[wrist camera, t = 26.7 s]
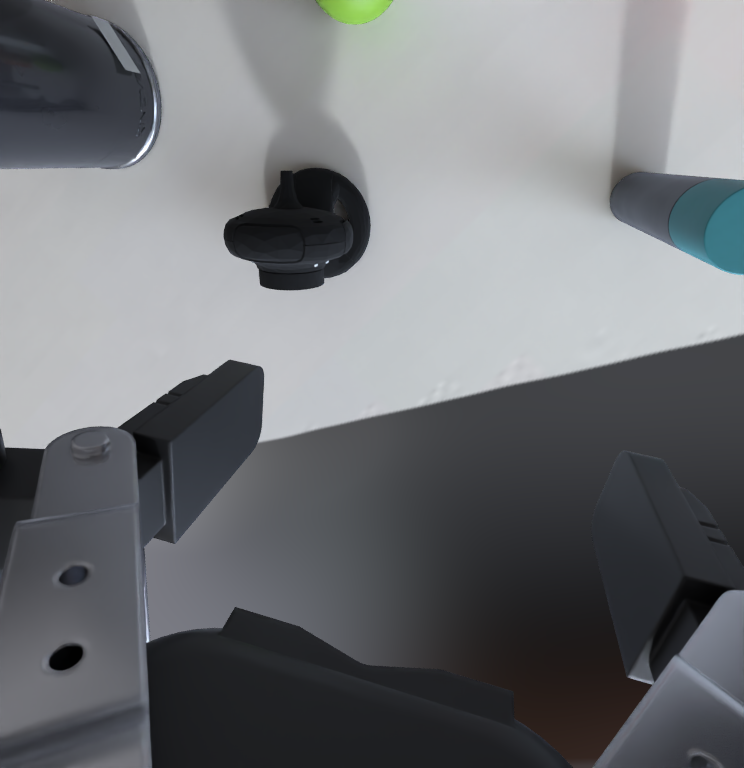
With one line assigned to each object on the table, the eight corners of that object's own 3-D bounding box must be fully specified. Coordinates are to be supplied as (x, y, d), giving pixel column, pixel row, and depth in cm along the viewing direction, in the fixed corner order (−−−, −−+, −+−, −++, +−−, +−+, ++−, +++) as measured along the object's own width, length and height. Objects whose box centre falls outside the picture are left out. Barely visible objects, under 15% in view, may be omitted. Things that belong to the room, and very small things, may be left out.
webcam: (274, 272, 38) (207, 307, 29) (267, 166, 35) (189, 169, 26) (372, 279, 37) (333, 317, 28) (374, 169, 34) (330, 172, 25)
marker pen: (602, 218, 32) (688, 266, 18) (619, 168, 31) (727, 175, 16) (651, 227, 31) (780, 282, 17) (670, 176, 30) (827, 190, 16)
